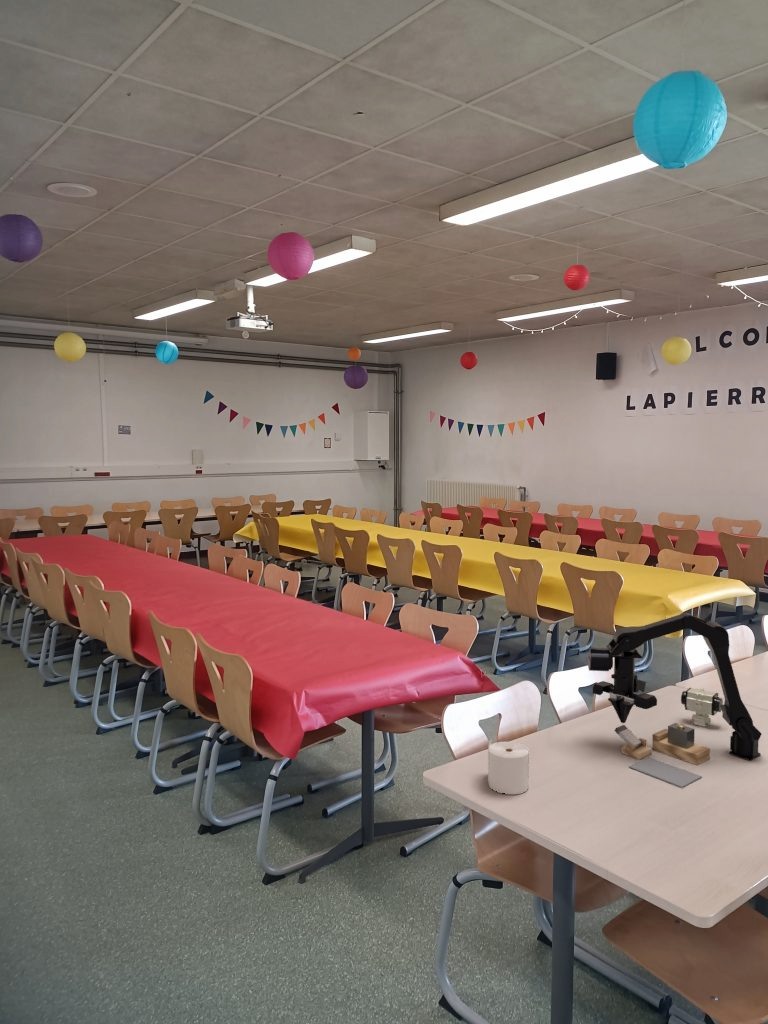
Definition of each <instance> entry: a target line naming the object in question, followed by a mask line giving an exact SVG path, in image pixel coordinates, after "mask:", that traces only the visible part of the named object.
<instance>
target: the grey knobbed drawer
mask: <svg viewBox="0 0 768 1024" xmlns="http://www.w3.org/2000/svg"><path fill="white" fill-rule="evenodd" d="M667 729H668V743H671V744H674V745H677V746H680V747H682V748H685V749H688V748H690V747H692V746H694V743H695V728H693V727H691V726H687V725H685V724H683V723H678V722H673V723H672V724H669V725H667Z"/></svg>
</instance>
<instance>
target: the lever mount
mask: <svg viewBox="0 0 768 1024" xmlns="http://www.w3.org/2000/svg"><path fill="white" fill-rule="evenodd" d="M638 739H639V740H640V741H641V742H642V745H641V746H639V747H637V748H635V745H634V744H631V743H628V744H627V743H626V745H624V746H622V747H621V754H623V755H626V756H628V757H631V758H634V759H637V760H639V761H641V760H643V759H645V758H648V757H650V756H651V755H653V754H652V752H653V749H652V747H648V746H647V739H645V738H641V737H639V738H638Z"/></svg>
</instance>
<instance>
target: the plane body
mask: <svg viewBox="0 0 768 1024" xmlns="http://www.w3.org/2000/svg"><path fill="white" fill-rule="evenodd" d="M651 739H652V742H651V743H652V744H651V745H652V746H651V748H652V751H653V750H654V751H655V752H656V751H657V752H659V753H662V754H663V755H664V754H665V755H667V756H670V757H673V758H676V759H679V760H682V761H684V762H688V763H690V764H692V765H693V764H694V765H695V766H698V765H700V764H702V763H704V762H705V761H707V760H710V757H711V756H710V755H711V748H709V747H707V746H704V745H700V744H697V743H695V742H694V746H692V747H690V748H688V749H685V748H682V747H680V746H677V745H674V744H671V743H668V728H663V729H661V730H659V731H657V732H654V733H652V738H651Z"/></svg>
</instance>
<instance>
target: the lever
mask: <svg viewBox="0 0 768 1024" xmlns="http://www.w3.org/2000/svg"><path fill="white" fill-rule="evenodd" d="M614 732H615V733H616V734H617V735H618V736H619V737H620V738H621V739H622V740H623V741H624V742H625V743H626V745H627V744H628V743H631V744H634V745H635V748H637V747H639V746H641V745H642V742H641V741H640V740H639V738H638V737H637V736H636V735H635V734H634V733H633V732H632V731H631V730H630V729H629V728H628V727H627V726H626V725H625V724H622V725H620V726H617V727H615V728H614Z"/></svg>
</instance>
